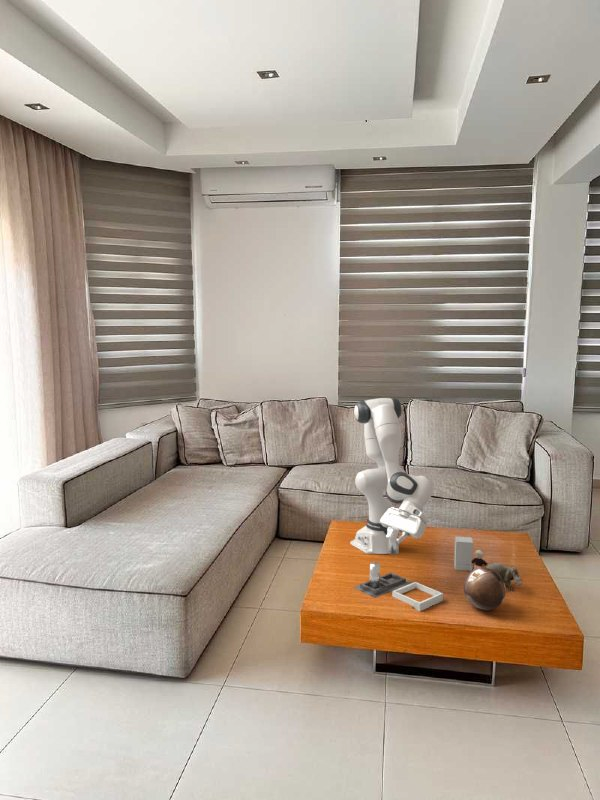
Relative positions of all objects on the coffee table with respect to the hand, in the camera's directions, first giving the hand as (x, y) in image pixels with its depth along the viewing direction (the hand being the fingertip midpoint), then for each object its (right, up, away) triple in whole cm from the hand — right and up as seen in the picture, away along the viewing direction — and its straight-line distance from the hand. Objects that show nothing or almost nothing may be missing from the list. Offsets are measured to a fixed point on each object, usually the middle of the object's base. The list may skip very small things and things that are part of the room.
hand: (392, 540), depth 242 cm
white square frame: (+8, -20, -11) cm, 24 cm away
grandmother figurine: (+37, -18, +7) cm, 42 cm away
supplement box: (+34, -17, +20) cm, 43 cm away
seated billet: (-8, -18, -3) cm, 20 cm away
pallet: (-4, -19, 0) cm, 19 cm away
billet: (0, -5, +1) cm, 5 cm away
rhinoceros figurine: (+45, -19, 0) cm, 49 cm away
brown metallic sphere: (+31, -21, -18) cm, 42 cm away
